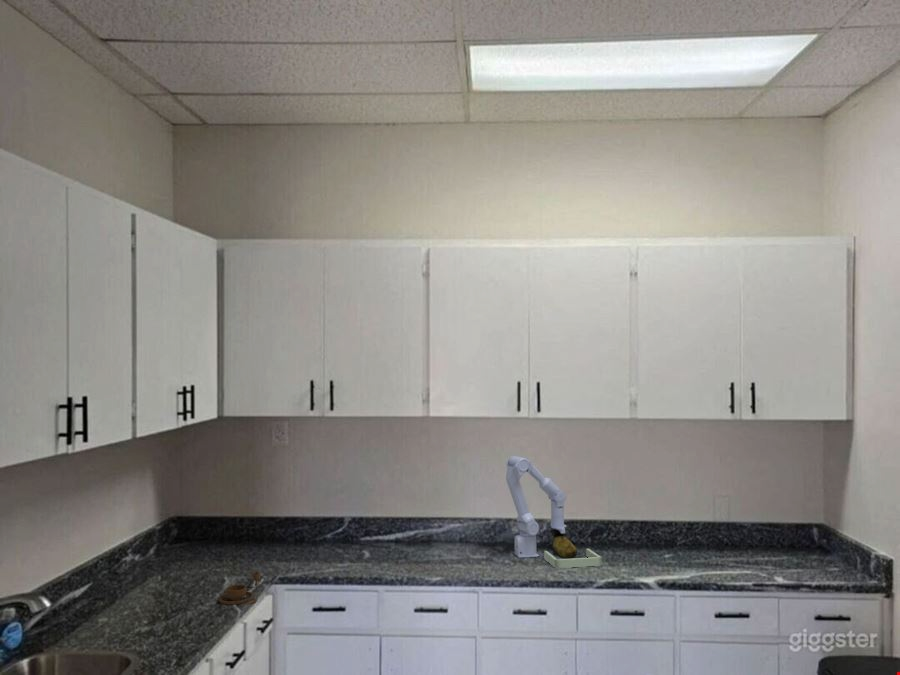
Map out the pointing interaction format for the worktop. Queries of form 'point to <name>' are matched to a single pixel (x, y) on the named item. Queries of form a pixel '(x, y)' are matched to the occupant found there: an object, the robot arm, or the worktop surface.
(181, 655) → the worktop surface
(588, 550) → the pale green rail frame
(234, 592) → the place setting
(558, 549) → the potato
